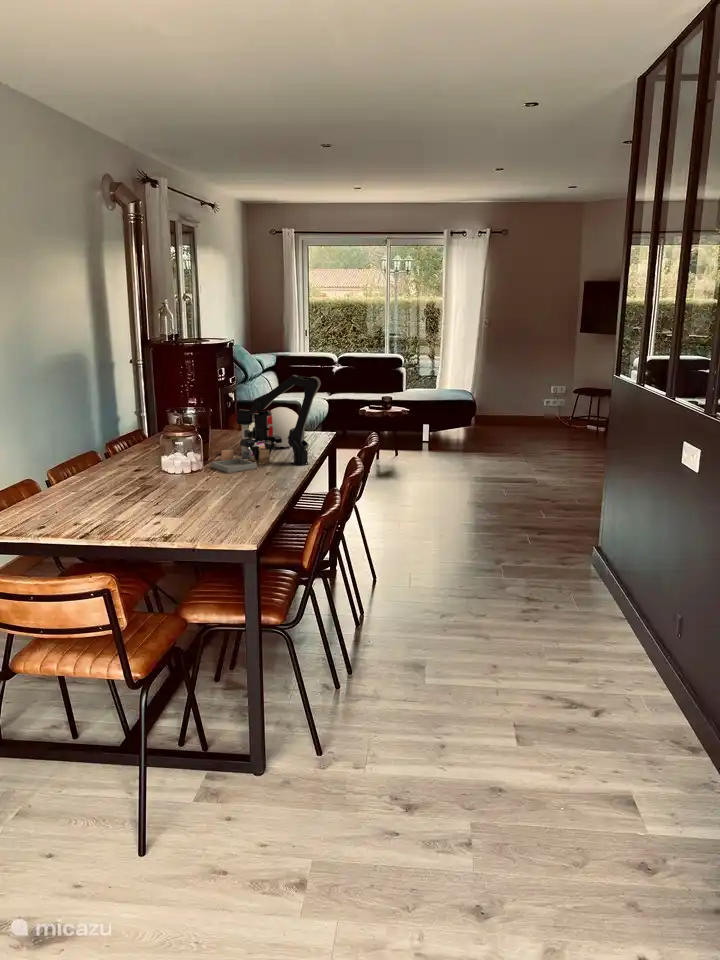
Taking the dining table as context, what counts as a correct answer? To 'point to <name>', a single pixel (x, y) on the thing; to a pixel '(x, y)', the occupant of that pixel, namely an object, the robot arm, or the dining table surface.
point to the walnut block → (263, 456)
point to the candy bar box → (250, 427)
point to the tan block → (227, 454)
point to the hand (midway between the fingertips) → (261, 459)
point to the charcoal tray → (234, 465)
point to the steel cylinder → (246, 452)
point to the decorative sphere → (281, 424)
